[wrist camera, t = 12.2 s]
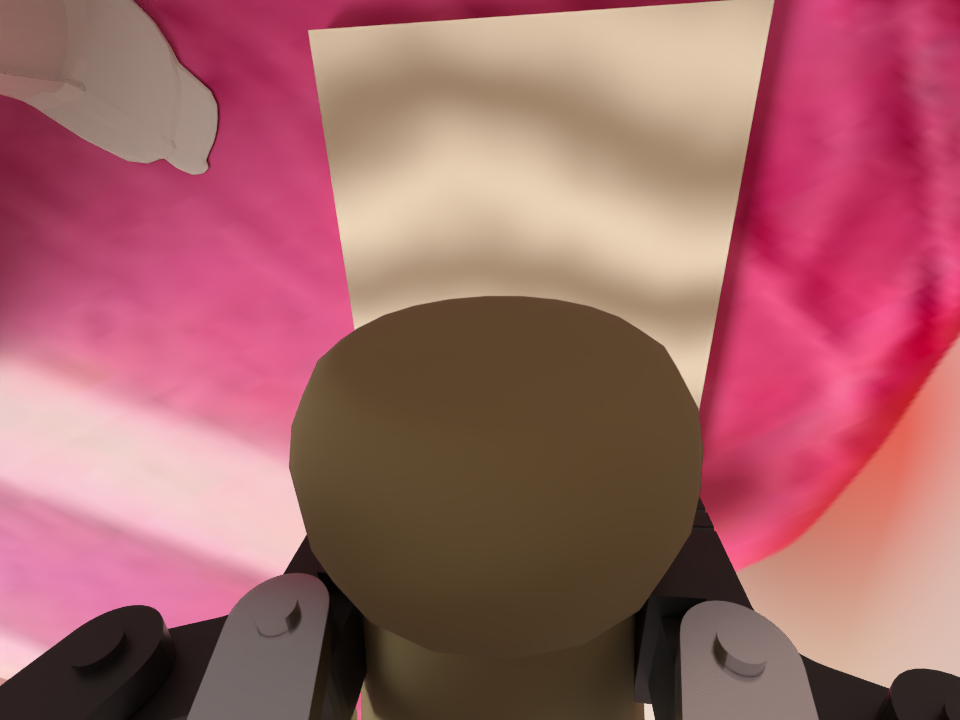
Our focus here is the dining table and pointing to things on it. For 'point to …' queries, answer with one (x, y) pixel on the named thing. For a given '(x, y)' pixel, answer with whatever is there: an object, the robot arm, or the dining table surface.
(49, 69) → the candle
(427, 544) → the cork
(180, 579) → the dining table surface
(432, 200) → the birch board
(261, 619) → the robot arm
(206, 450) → the dining table surface
